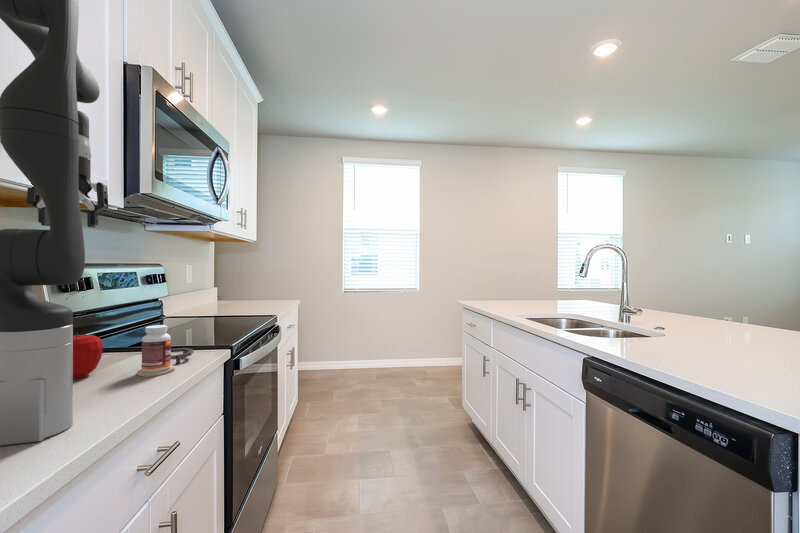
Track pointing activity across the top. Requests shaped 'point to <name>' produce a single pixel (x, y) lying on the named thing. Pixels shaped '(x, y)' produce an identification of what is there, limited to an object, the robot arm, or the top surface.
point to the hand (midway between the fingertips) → (69, 226)
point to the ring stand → (185, 353)
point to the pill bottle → (156, 349)
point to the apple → (86, 354)
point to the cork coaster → (142, 373)
